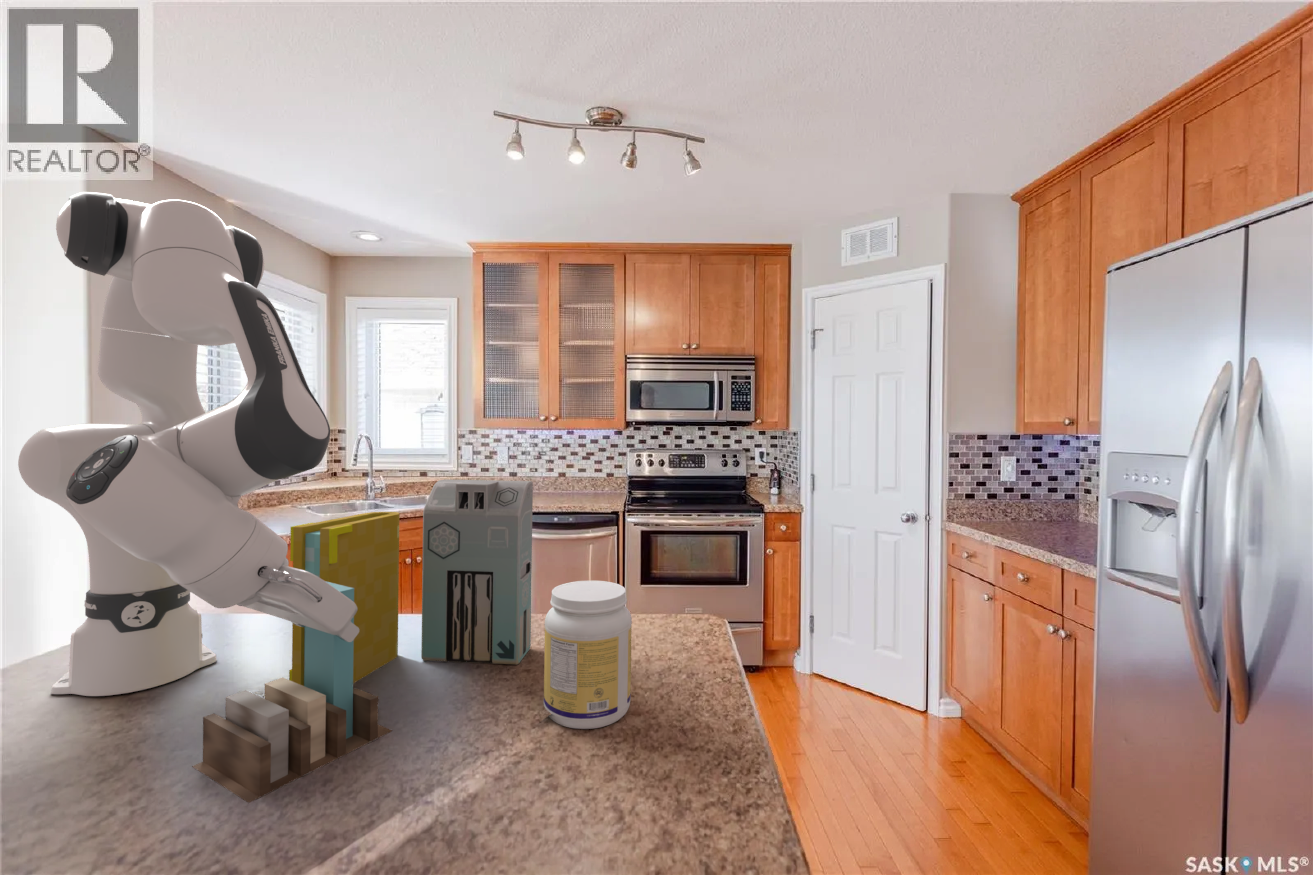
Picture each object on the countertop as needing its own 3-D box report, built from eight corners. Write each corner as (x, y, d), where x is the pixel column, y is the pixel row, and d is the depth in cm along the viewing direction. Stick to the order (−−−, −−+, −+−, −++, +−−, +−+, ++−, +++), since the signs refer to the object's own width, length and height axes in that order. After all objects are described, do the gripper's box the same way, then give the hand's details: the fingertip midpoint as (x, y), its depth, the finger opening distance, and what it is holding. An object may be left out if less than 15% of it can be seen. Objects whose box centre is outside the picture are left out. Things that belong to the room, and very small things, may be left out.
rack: (191, 779, 62) (192, 720, 62) (335, 717, 76) (335, 669, 76) (248, 817, 57) (249, 752, 56) (392, 742, 70) (393, 690, 70)
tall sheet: (304, 731, 70) (305, 585, 70) (323, 722, 72) (325, 581, 72) (332, 745, 67) (334, 592, 67) (352, 735, 69) (354, 588, 69)
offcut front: (225, 759, 64) (225, 697, 64) (245, 750, 66) (245, 690, 66) (267, 784, 59) (268, 717, 59) (288, 774, 61) (288, 709, 61)
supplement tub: (575, 683, 88) (577, 574, 88) (645, 701, 82) (647, 585, 82) (524, 719, 77) (526, 594, 77) (601, 742, 71) (603, 608, 71)
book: (330, 709, 78) (332, 529, 78) (288, 704, 80) (290, 526, 80) (407, 661, 95) (409, 512, 95) (371, 658, 96) (373, 510, 96)
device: (420, 662, 95) (422, 483, 95) (441, 645, 103) (443, 479, 102) (517, 666, 94) (520, 485, 94) (530, 648, 102) (533, 481, 101)
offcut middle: (263, 742, 67) (264, 683, 67) (282, 734, 69) (282, 677, 69) (307, 765, 63) (307, 702, 63) (325, 756, 65) (325, 695, 65)
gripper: (315, 550, 58) (400, 619, 66) (217, 530, 68) (301, 593, 76) (267, 605, 54) (363, 671, 62) (170, 576, 64) (264, 636, 72)
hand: (328, 628), depth 69 cm, fingers open, 8 cm apart
